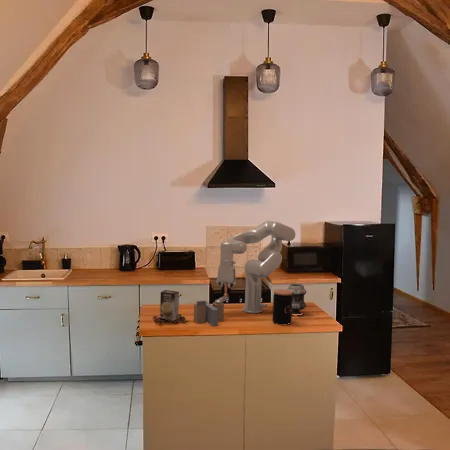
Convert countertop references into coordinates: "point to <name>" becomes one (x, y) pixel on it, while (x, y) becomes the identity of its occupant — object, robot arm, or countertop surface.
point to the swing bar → (223, 296)
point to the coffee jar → (282, 306)
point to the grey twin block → (208, 313)
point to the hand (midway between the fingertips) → (226, 293)
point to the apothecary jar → (297, 297)
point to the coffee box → (169, 304)
